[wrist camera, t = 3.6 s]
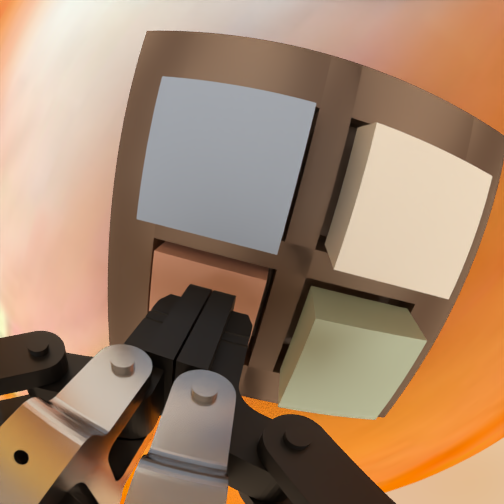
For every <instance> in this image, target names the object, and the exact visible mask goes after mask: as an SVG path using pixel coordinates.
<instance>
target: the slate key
mask: <svg viewBox="0 0 504 504" xmlns="http://www.w3.org/2000/svg"><path fill="white" fill-rule="evenodd" d="M315 107H316V103H315V102H311V101H307V100H303V99H299V98H295V97H291V96H287V95H283V94H278V93H274V92H269V91H264V90H260V89H254V88H249V87H244V86H238V85H232V84H226V83H219V82H212V81H204V80H196V79H187V78H177V77H165V76H162V79H161V83H160V87H159V91H158V96H157V100H156V104H155V109H154V113H153V118H152V123H151V128H150V133H149V138H148V143H147V149H146V155H145V161H144V167H143V173H142V180H141V187H140V194H139V202H138V210H137V219H138V220H142V221H146V222H150V223H154V224H158V225H162V226H166V227H169V228H173V229H177V230H181V231H185V232H189V233H193V234H197V235H201V236H205V237H209V238H213V239H217V240H221V241H225V242H228V243H232V244H236V245H240V246H244V247H248V248H252V249H256V250H260V251H264V252H268V253H271V254H275V255H277V253H278V250H279V246H280V243H281V239H282V235H283V232H284V228H285V224H286V221H287V217H288V213H289V209H290V206H291V202H292V198H293V194H294V190H295V187H296V183H297V179H298V175H299V171H300V167H301V163H302V160H303V156H304V152H305V148H306V144H307V140H308V136H309V132H310V128H311V124H312V120H313V116H314V111H315Z"/></svg>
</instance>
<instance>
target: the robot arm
mask: <svg viewBox="0 0 504 504" xmlns="http://www.w3.org/2000/svg"><path fill="white" fill-rule="evenodd" d="M235 300H236V296H235V295H231V294H227V293H223V292H220V291H216V290H214V291H213V290H212V289H208V288H204V287H201V286H197V285H193V284H190V285H189V286H188V287H187V289H186V290H185V291H184V293H183V294H182V296H181V297H180V296H176V295H173V294H170V295H168V296H166V297H164V298H161V299H159V300H158V301H157V303H156V304H155V305H154V306H153V307H152V309H151V311H149V312H148V314H147V315H146V316H145V318H144V319H143V320H142V321H141V322H140V324H139V325H138V326H137V327H136V329H135V330H134V331H133V332H132V334H131V335H130V336H129V337H128V339H127V340H126V341H125V343H124V344H116V345H111V346H108V347H105V348H104V349H102V350H101V351H100V352H98V353H97V354H96V355H95V356H94V357H89V356H82V355H76V354H71V353H66V351H65V346H64V343H63V341H62V340H61V338H60V337H58V336H57V335H55V334H53V333H51V332H47V331H35V332H29V333H24V334H19V335H14V336H9V337H4V338H0V395H4V394H9V393H13V392H18V391H23V390H27V391H28V393H29V395H25V396H20V397H16V398H11V399H6V400H1V401H0V504H119V503H120V500H121V496H122V490H123V487H124V485H125V483H126V481H127V479H128V478H129V476H130V474H131V472H132V471H133V469H134V467H135V466H136V464H137V462H138V460H139V459H140V457H141V455H142V454H143V452H144V450H145V449H146V447H147V445H148V443H149V442H150V440H151V438H152V436H153V432H154V430H153V428H154V426H155V424H156V422H157V420H158V418H159V416H160V415H161V419H160V422H159V425H158V428H157V431H156V433H155V436H154V439H153V442H152V445H151V448H150V450H149V452H148V454H147V455H143V456H142V458H141V459H140V461H139V463H138V466H137V468H136V471H135V474H134V476H133V479H132V482H131V485H130V488H129V491H128V494H127V497H126V500H125V503H124V504H226V499H227V491H228V485H229V486H230V487H232V488H234V489H236V490H238V491H239V494H240V496H241V498H242V499H243V501H244V502H245V504H396V503H395V502H393V500H392V499H390V498H389V497H388V496H387V495H386V494H385V493H384V492H383V491H382V490H381V489H380V488H379V487H378V486H377V485H376V484H375V483H374V482H373V481H372V480H371V479H370V478H369V477H368V476H367V475H366V474H365V473H364V472H363V471H362V470H361V469H360V468H359V467H358V466H357V465H356V464H355V463H354V462H353V461H352V459H351V458H350V457H349V456H348V455H347V454H346V453H345V452H344V451H343V450H342V449H341V448H340V447H339V446H338V445H337V444H336V443H335V442H334V440H333V439H332V438H331V437H330V436H329V435H328V434H327V433H326V432H325V431H324V430H323V428H322V427H321V426H320V425H318V424H317V423H316V422H314V421H313V420H311V419H309V418H307V417H304V416H300V415H294V414H287V415H281V416H278V417H276V418H274V419H270V418H268V417H266V416H264V415H262V414H260V413H258V412H257V411H255V410H253V409H252V408H251V407H249V406H248V405H247V404H246V403H245V401H244V400H243V399H242V397H241V395H240V391H239V382H240V377H241V373H242V369H243V365H244V361H245V357H246V352H247V348H248V344H249V340H250V335H251V331H252V327H253V325H252V323H251V321H250V318H249V316H248V315H246V314H242V313H239V312H235V311H233V310H234V305H235Z"/></svg>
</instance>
